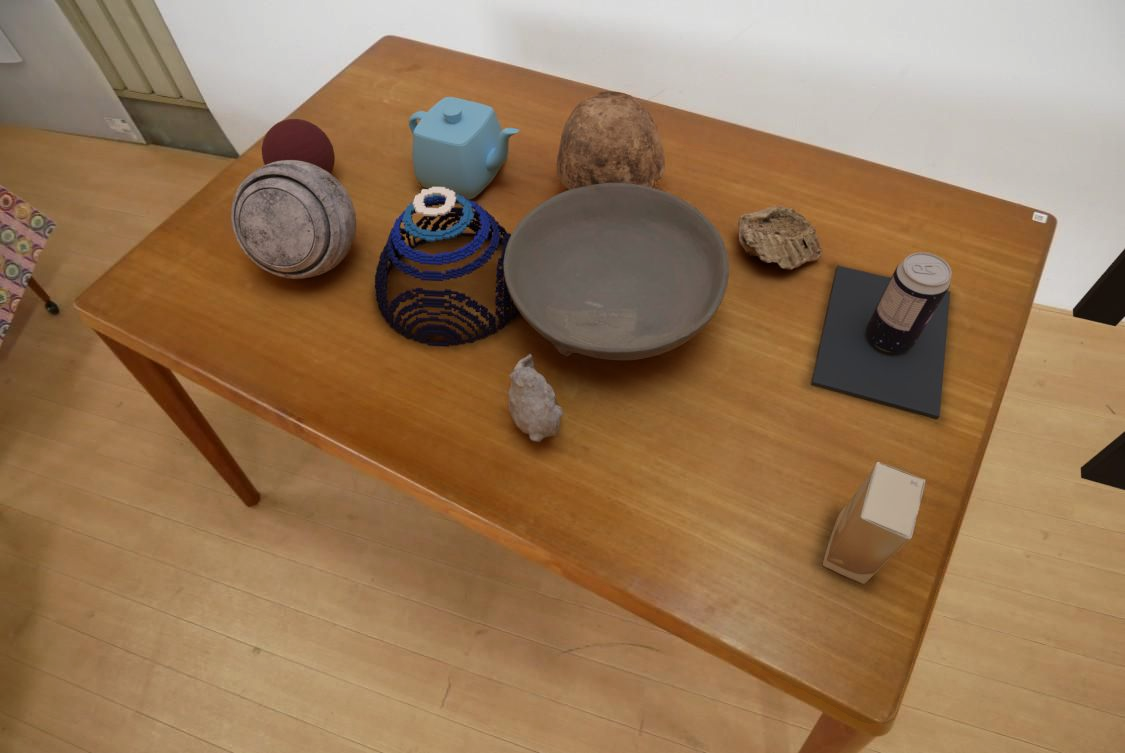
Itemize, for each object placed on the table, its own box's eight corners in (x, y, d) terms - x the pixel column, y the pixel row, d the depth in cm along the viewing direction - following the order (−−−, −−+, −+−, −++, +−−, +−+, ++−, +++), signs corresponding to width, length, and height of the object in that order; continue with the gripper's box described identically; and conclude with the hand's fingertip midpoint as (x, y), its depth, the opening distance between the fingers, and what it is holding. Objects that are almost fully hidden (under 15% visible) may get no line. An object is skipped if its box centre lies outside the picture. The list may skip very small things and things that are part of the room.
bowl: (738, 267, 92) (753, 209, 84) (684, 425, 78) (695, 374, 70) (556, 222, 99) (553, 164, 91) (475, 361, 85) (464, 307, 76)
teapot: (506, 219, 99) (498, 151, 90) (399, 188, 104) (380, 121, 95) (542, 168, 106) (538, 100, 97) (440, 141, 110) (426, 74, 101)
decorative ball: (353, 187, 104) (333, 129, 96) (290, 213, 101) (264, 156, 93) (327, 154, 109) (306, 96, 101) (266, 178, 106) (240, 120, 98)
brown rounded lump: (666, 167, 105) (676, 74, 93) (655, 238, 96) (665, 146, 84) (568, 157, 107) (566, 66, 95) (548, 226, 98) (543, 135, 86)
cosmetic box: (837, 514, 72) (877, 456, 62) (880, 532, 70) (928, 476, 60) (819, 568, 68) (859, 516, 58) (864, 588, 67) (912, 539, 57)
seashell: (811, 287, 94) (816, 218, 96) (831, 270, 87) (836, 196, 89) (728, 276, 94) (735, 207, 96) (742, 258, 87) (749, 184, 89)
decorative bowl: (519, 350, 85) (508, 267, 74) (361, 341, 87) (326, 258, 75) (538, 237, 97) (531, 150, 85) (399, 231, 99) (373, 144, 87)
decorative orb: (244, 296, 92) (192, 207, 80) (281, 222, 100) (239, 132, 88) (352, 303, 91) (315, 214, 79) (381, 227, 99) (352, 136, 87)
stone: (588, 427, 79) (589, 375, 71) (546, 466, 76) (541, 417, 68) (531, 381, 83) (525, 328, 74) (489, 417, 80) (478, 365, 72)
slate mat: (937, 419, 78) (939, 416, 77) (811, 384, 81) (812, 381, 81) (948, 294, 89) (950, 291, 88) (836, 268, 92) (837, 265, 91)
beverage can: (915, 359, 82) (959, 290, 72) (866, 354, 83) (903, 285, 73) (909, 323, 85) (951, 252, 76) (861, 318, 86) (896, 247, 76)
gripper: (1251, -48, 36) (1035, 251, 53) (1384, 288, 22) (1038, 543, 40) (1428, -28, 34) (1146, 275, 51) (1688, 350, 21) (1188, 588, 38)
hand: (1098, 392), depth 46 cm, fingers open, 13 cm apart
